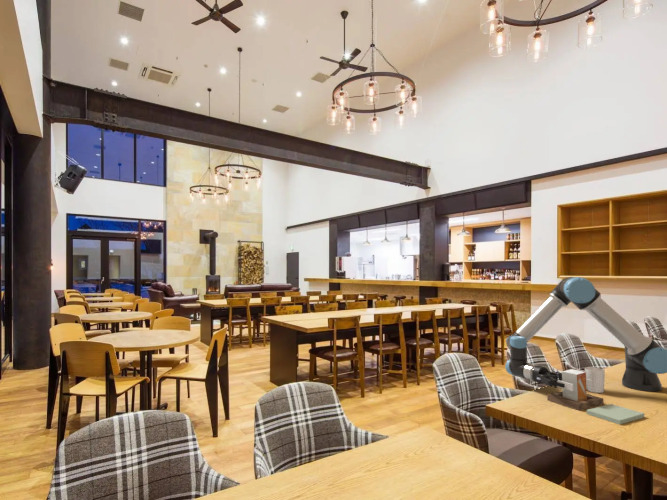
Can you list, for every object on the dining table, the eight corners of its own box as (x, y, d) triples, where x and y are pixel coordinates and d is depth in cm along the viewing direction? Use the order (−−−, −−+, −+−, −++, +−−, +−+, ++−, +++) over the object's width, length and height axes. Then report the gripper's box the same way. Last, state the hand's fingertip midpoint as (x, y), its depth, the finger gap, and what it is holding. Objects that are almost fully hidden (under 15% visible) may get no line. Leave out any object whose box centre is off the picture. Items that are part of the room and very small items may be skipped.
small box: (578, 406, 163) (577, 374, 163) (562, 402, 168) (561, 371, 169) (587, 402, 167) (586, 371, 168) (571, 398, 172) (570, 368, 173)
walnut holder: (571, 395, 177) (570, 389, 177) (603, 404, 165) (603, 398, 165) (547, 400, 170) (547, 394, 170) (579, 410, 158) (579, 404, 158)
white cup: (605, 390, 184) (604, 368, 185) (605, 394, 178) (605, 372, 178) (585, 387, 189) (584, 366, 189) (585, 391, 182) (584, 369, 182)
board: (611, 407, 161) (610, 403, 161) (644, 417, 150) (644, 413, 150) (586, 413, 154) (586, 409, 154) (619, 424, 143) (619, 420, 143)
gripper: (554, 378, 189) (600, 390, 170) (518, 385, 179) (564, 398, 159) (553, 362, 189) (600, 373, 170) (518, 368, 179) (563, 380, 160)
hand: (582, 385), depth 165 cm, fingers open, 12 cm apart
